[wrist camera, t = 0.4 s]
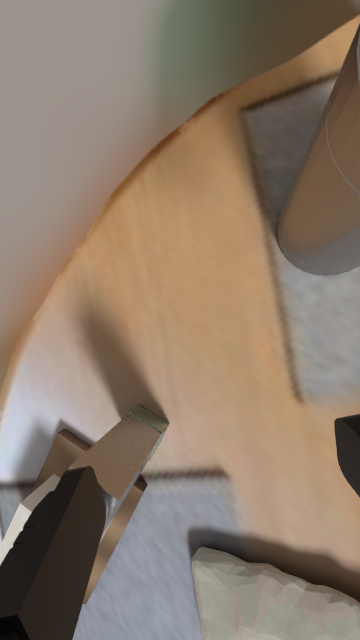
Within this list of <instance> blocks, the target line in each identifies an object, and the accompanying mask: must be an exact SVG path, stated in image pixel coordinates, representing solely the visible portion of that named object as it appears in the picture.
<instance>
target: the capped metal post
mask: <svg viewBox="0 0 360 640" xmlns="http://www.w3.org/2000/svg"><path fill="white" fill-rule="evenodd" d="M169 424H170V423H168V422H167V421H165V420H164V419H162V418H160V417H159V416H157V415H155V414H154V413H152V412H151V411H149V410H147V409H146V408H144V407H142V406H141V405H139V404H137V405H136V406H135V407H134V408H133V409H132V410H131V411H129V413H128V415H127V416H126V417H125V418H123V419H122V420H121V421H120V422H119V423H118V424H117V425H116V426H114V427H113V428H112V429H111V430H110V431H109V432H108V433H106V434H105V435H104V436H103V437H102V438H101V439H100V440H99V441H97V442H96V443H95V444H94V445H93V446H92V447H91V448H90V449H88V450H87V451H86V452H85V453H84V454H83V455H82V456H80V457H79V458H78V459H77V460H76V461H75V462H74V463H73V464H71V465H70V467H69V469H68V470H70V469H75V468H80V467H85V466H91V467H92V468H93V469H94V472H95V475H96V478H97V480H98V483H99V486H100V489H101V492H102V495H103V498H104V501H105V505H106V521H105V526H104V530H103V533H104V531H105V530H106V528H107V526H108V525H109V523H110V522H111V520H112V518H113V517H114V515H115V513H116V512H117V510H118V509H119V507H120V505H121V504H122V502H123V501H124V499H125V497H126V496H127V494H128V493H129V491H130V489H131V488H132V486H133V485H134V483H135V481H136V480H137V478H138V476H139V475H140V473H141V472H142V470H143V468H144V467H145V465H146V464H147V462H148V460H149V461H150V459H151V458H152V456H153V454H154V453H155V451H156V449H157V447H158V446H159V444H160V442H161V440H162V438H163V436H164V434H165V432H166V430H167V428H168V426H169ZM103 533H102V534H103Z"/></svg>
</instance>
